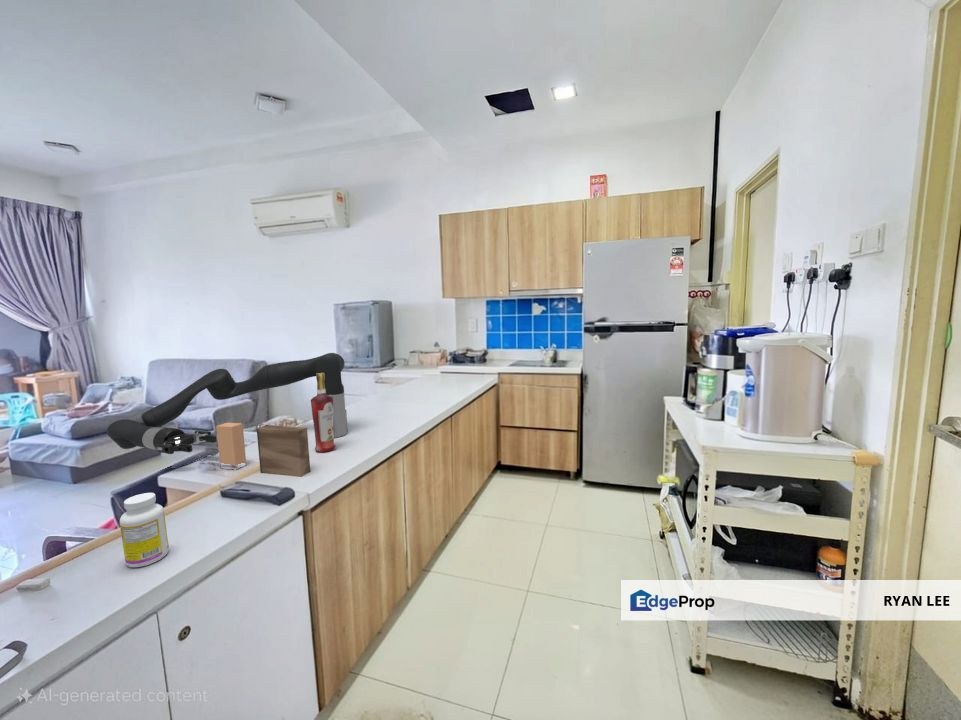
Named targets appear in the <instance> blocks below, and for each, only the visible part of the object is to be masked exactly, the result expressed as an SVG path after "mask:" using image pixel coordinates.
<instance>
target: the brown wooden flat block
mask: <svg viewBox="0 0 961 720" xmlns="http://www.w3.org/2000/svg"><path fill="white" fill-rule="evenodd" d="M308 435H309V434H308V427H306V426H305V427H304V426H289V425H288V426H287V425H274V424H273V425H271V424H266V425H262V426H259V427H257V428H256V437H257V439H256V440H257V449H258V450H257V451H258V458H259V459H258V460H259V469H260V470H259V471H260V474H267V475H277V476H286V477H287V476H288V477H289V476H290V477H296V478H302V477H304V476H305V475H307V474H309V473H310V472H311V465H310V464H311V463H310V462H311V461H310V452H309V451H310V450H309V436H308Z"/></svg>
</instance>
